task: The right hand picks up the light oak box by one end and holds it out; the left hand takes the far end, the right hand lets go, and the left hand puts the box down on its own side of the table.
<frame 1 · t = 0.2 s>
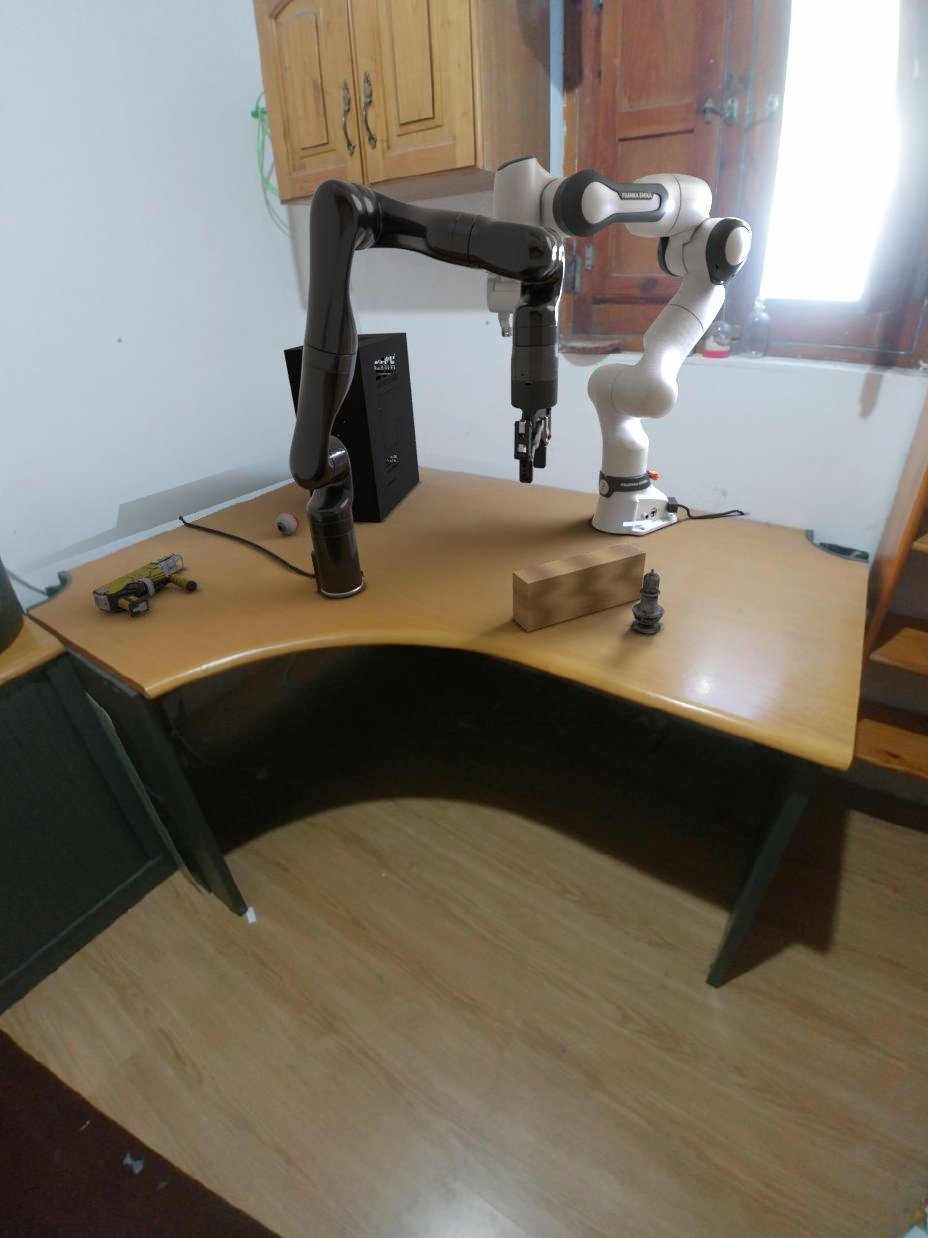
left hand: (533, 474, 104), 29 cm above the table, tool pointing down, fingers open, 8 cm apart
right hand: (517, 338, 125), 47 cm above the table, tool pointing down, fingers open, 8 cm apart
cardboard box: (371, 499, 188), on the table
eyeball: (289, 534, 165), on the table
grey chess piece: (646, 627, 114), on the table
toy gun: (162, 593, 137), on the table
box: (578, 608, 122), on the table
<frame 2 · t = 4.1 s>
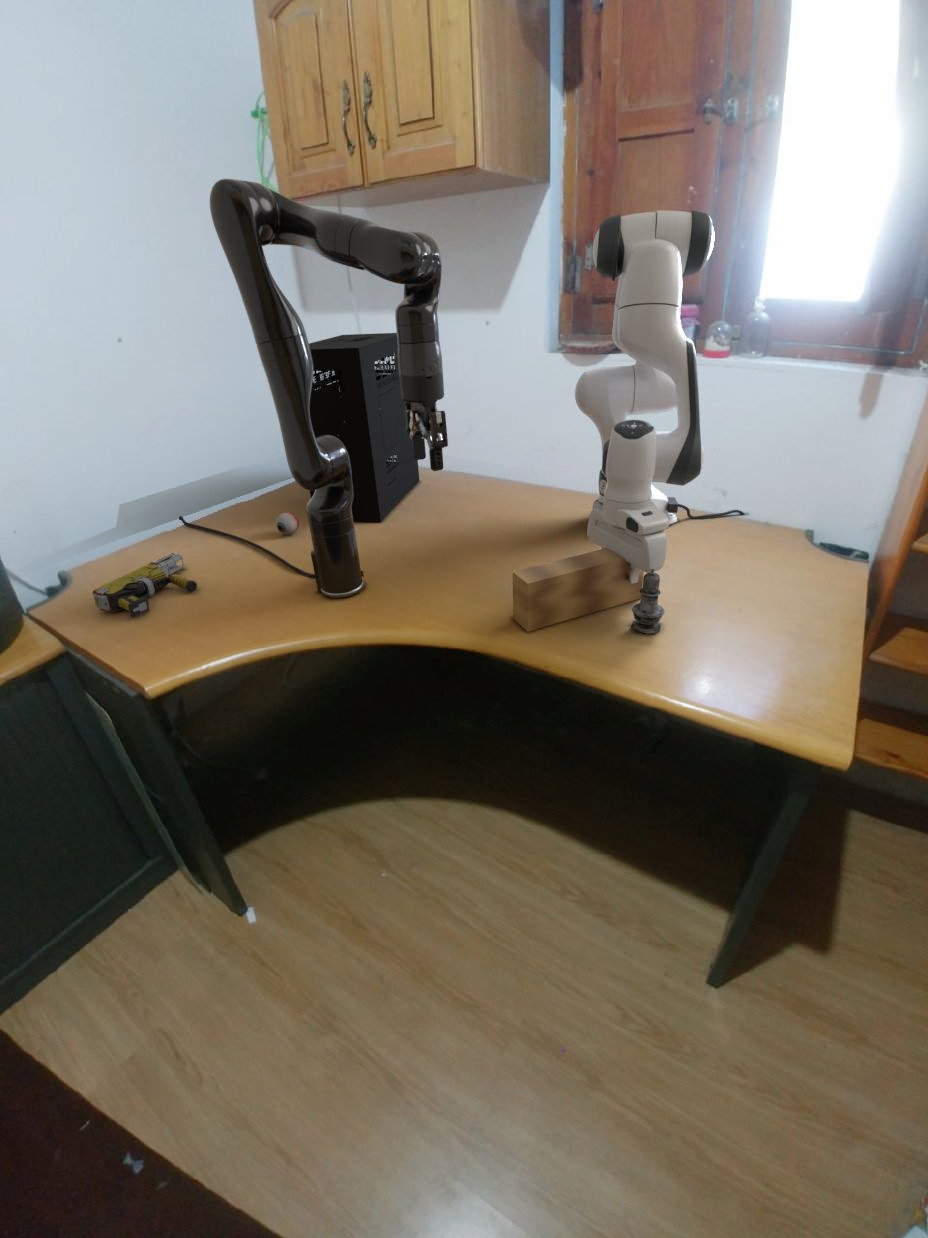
left hand: (428, 464, 111), 30 cm above the table, tool pointing down, fingers open, 8 cm apart
right hand: (620, 575, 123), 5 cm above the table, tool pointing down, fingers closed on box, 6 cm apart
box: (578, 608, 122), on the table, touching right hand
everything else where it was.
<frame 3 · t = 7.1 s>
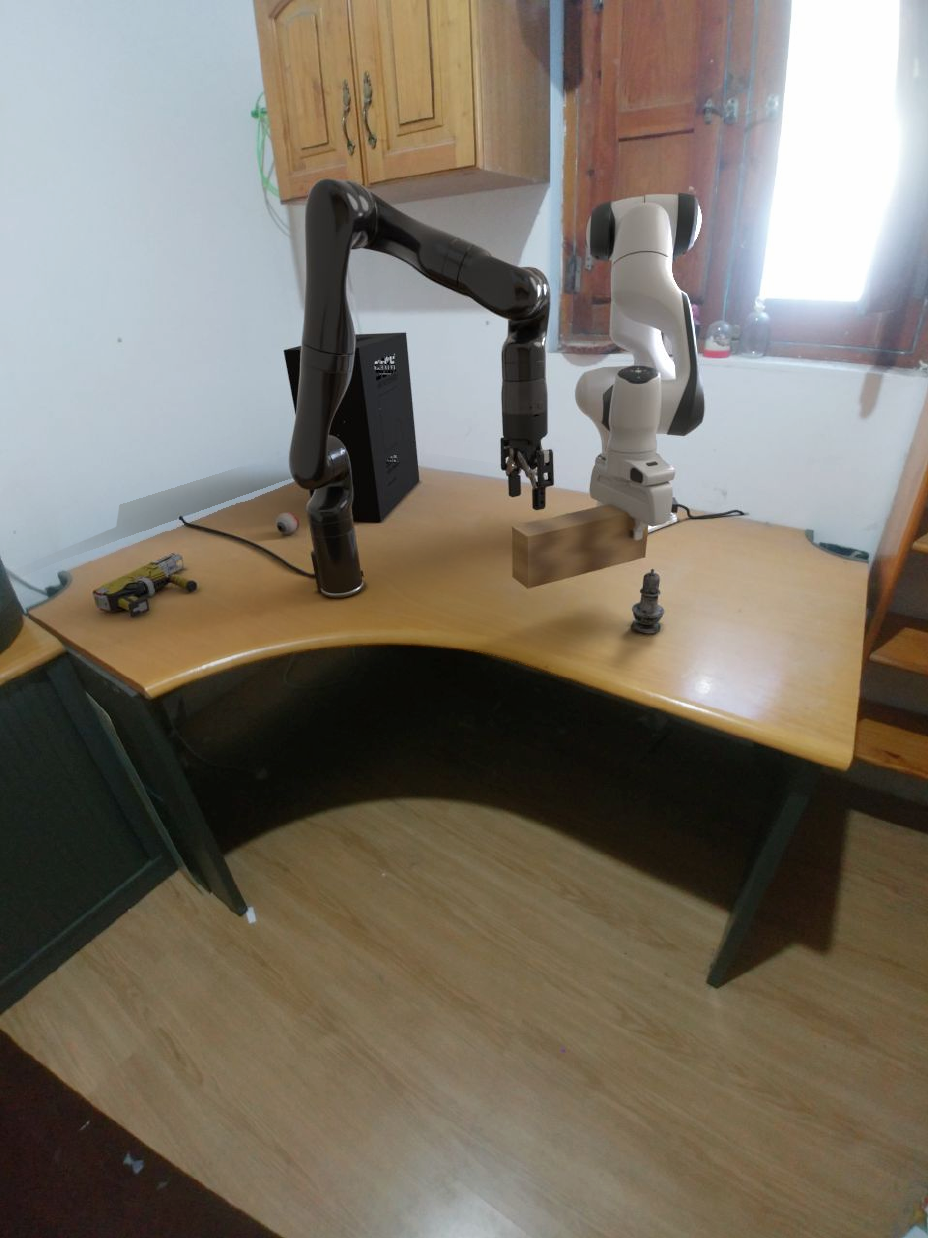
left hand: (526, 502, 107), 24 cm above the table, tool pointing down, fingers open, 8 cm apart
right hand: (624, 532, 118), 14 cm above the table, tool pointing down, fingers closed on box, 6 cm apart
box: (580, 566, 117), point 9 cm above the table, touching right hand
everything else where it was.
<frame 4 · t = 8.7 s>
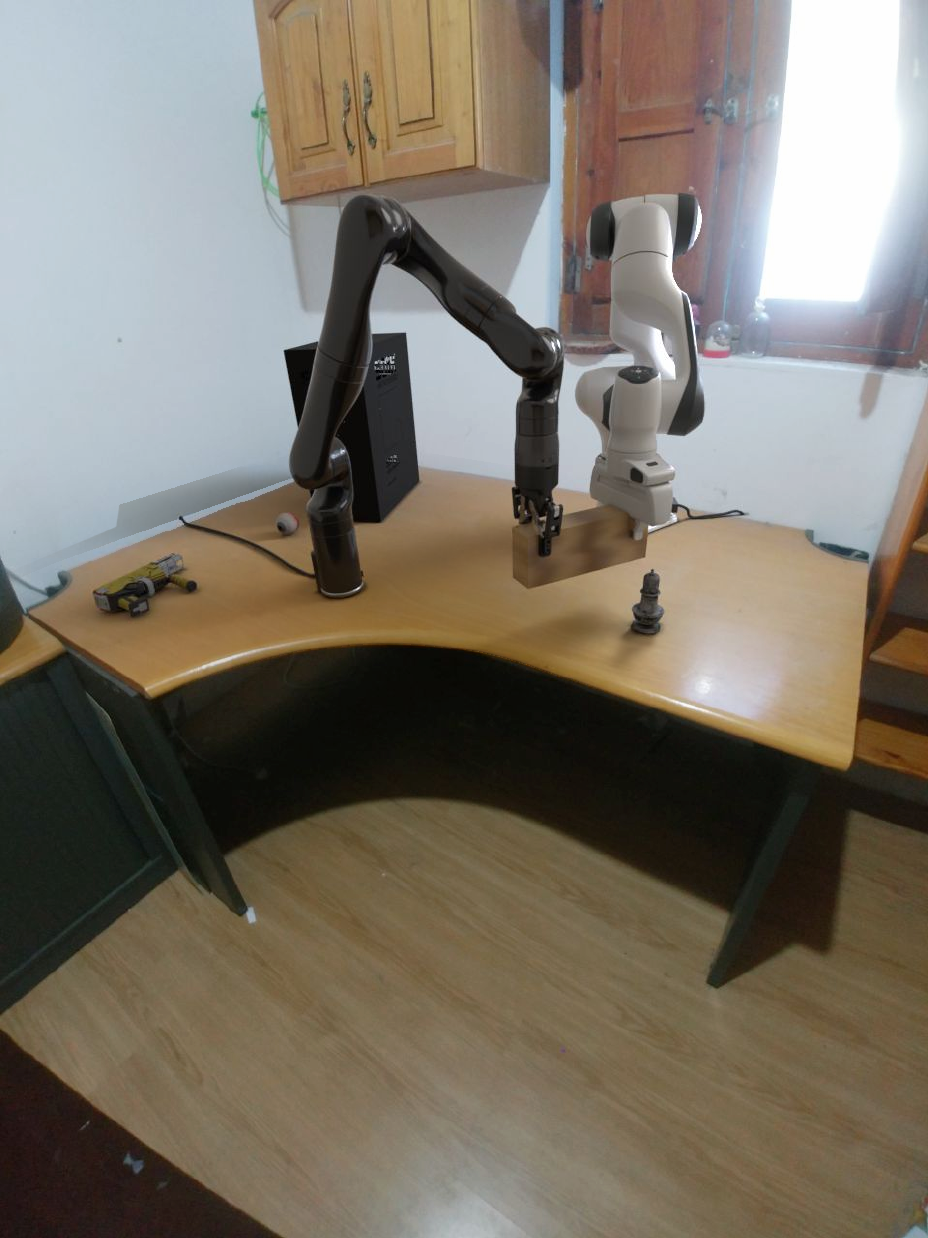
left hand: (535, 549, 111), 15 cm above the table, tool pointing down, fingers closed on box, 6 cm apart
right hand: (624, 532, 118), 14 cm above the table, tool pointing down, fingers closed on box, 6 cm apart
box: (580, 567, 117), point 9 cm above the table, touching right hand, left hand
everything else where it was.
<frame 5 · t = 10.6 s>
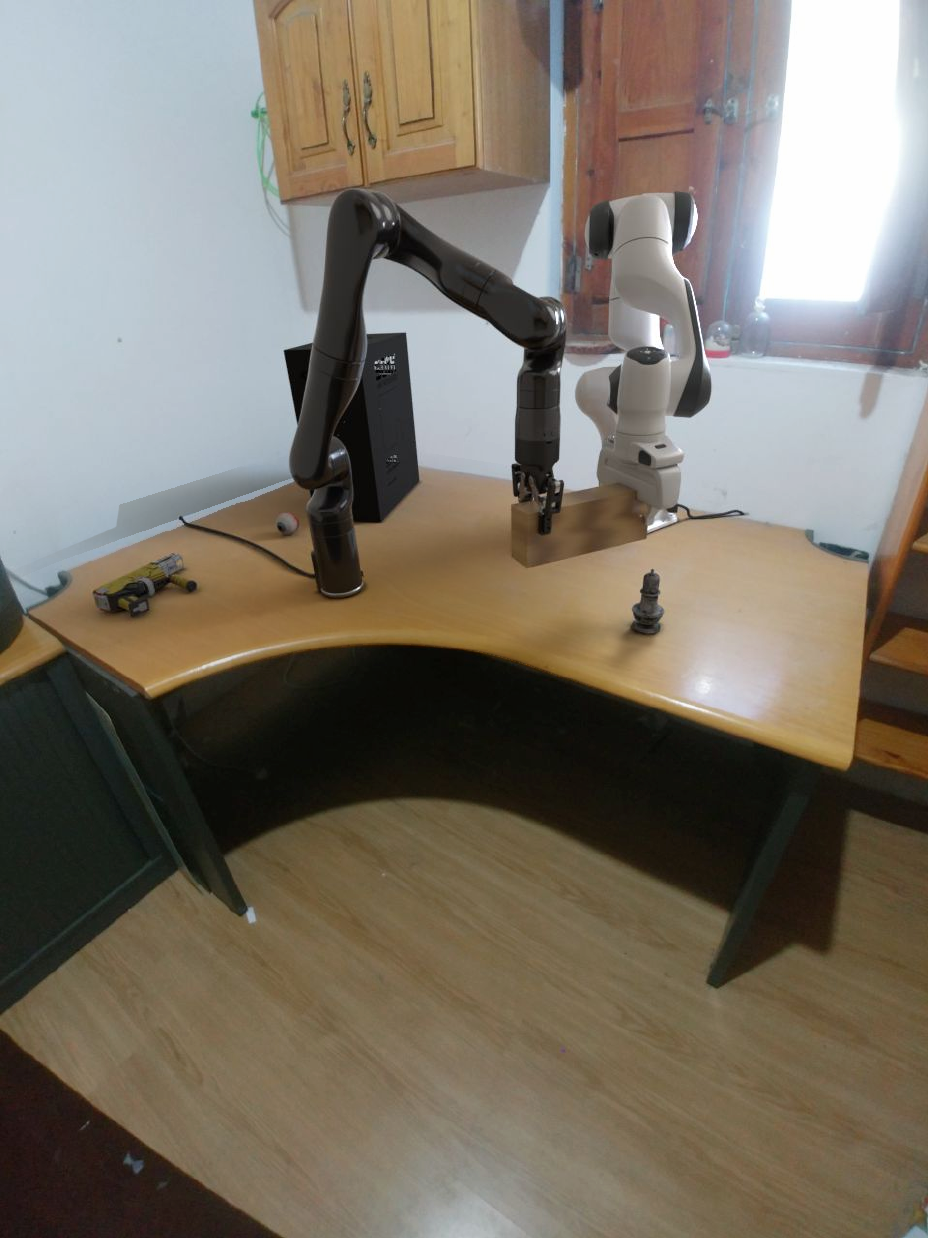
left hand: (535, 527, 109), 19 cm above the table, tool pointing down, fingers closed on box, 6 cm apart
right hand: (631, 516, 117), 17 cm above the table, tool pointing down, fingers open, 8 cm apart
box: (580, 547, 115), point 13 cm above the table, touching left hand
everything else where it was.
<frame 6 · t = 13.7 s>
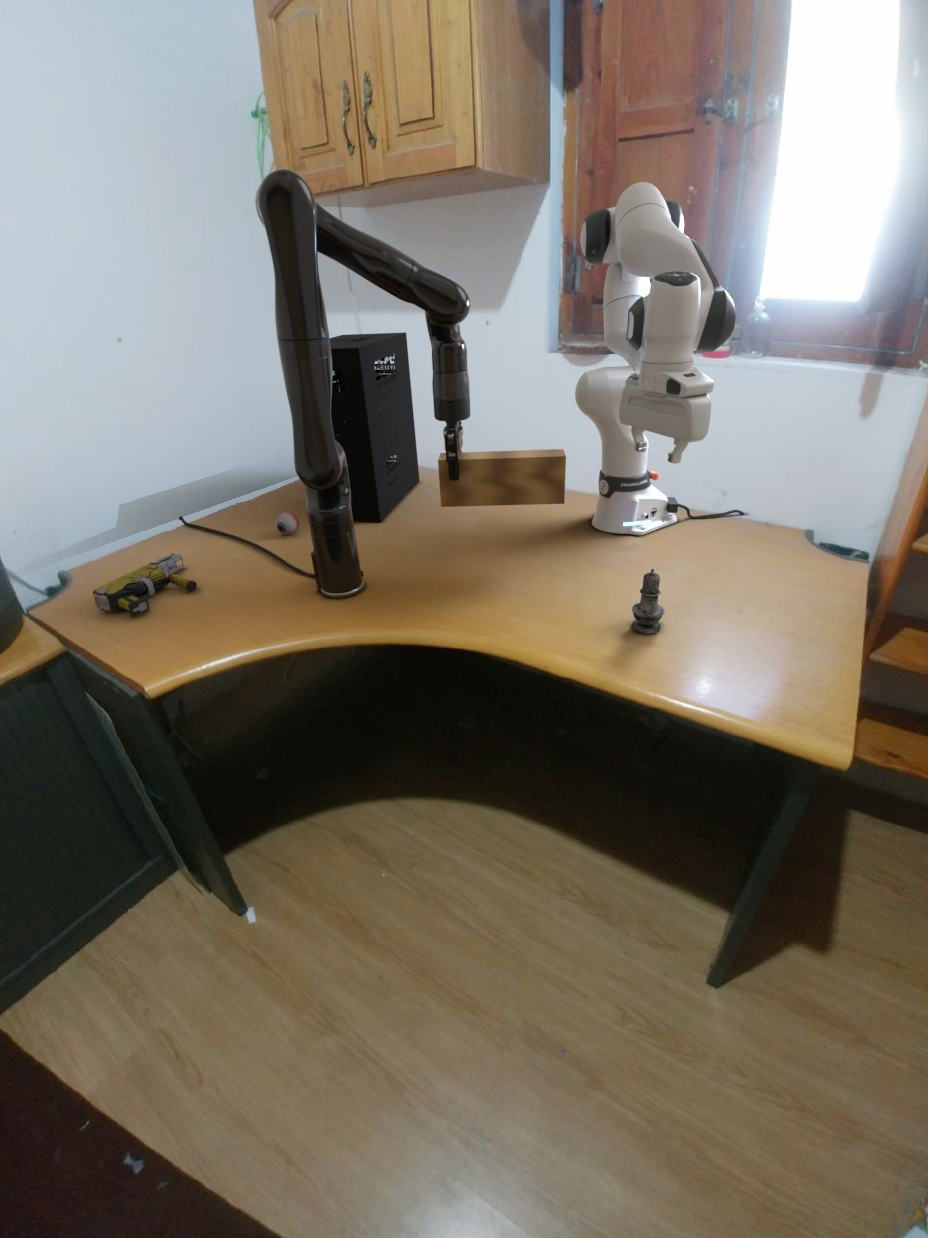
left hand: (455, 475, 131), 22 cm above the table, tool pointing down, fingers closed on box, 6 cm apart
right hand: (656, 456, 113), 28 cm above the table, tool pointing down, fingers open, 8 cm apart
box: (502, 500, 134), point 15 cm above the table, touching left hand
everything else where it was.
when the left hand's fingers open (8 cm above the table, at t = 18.5 s): box drops 1 cm, on the table.
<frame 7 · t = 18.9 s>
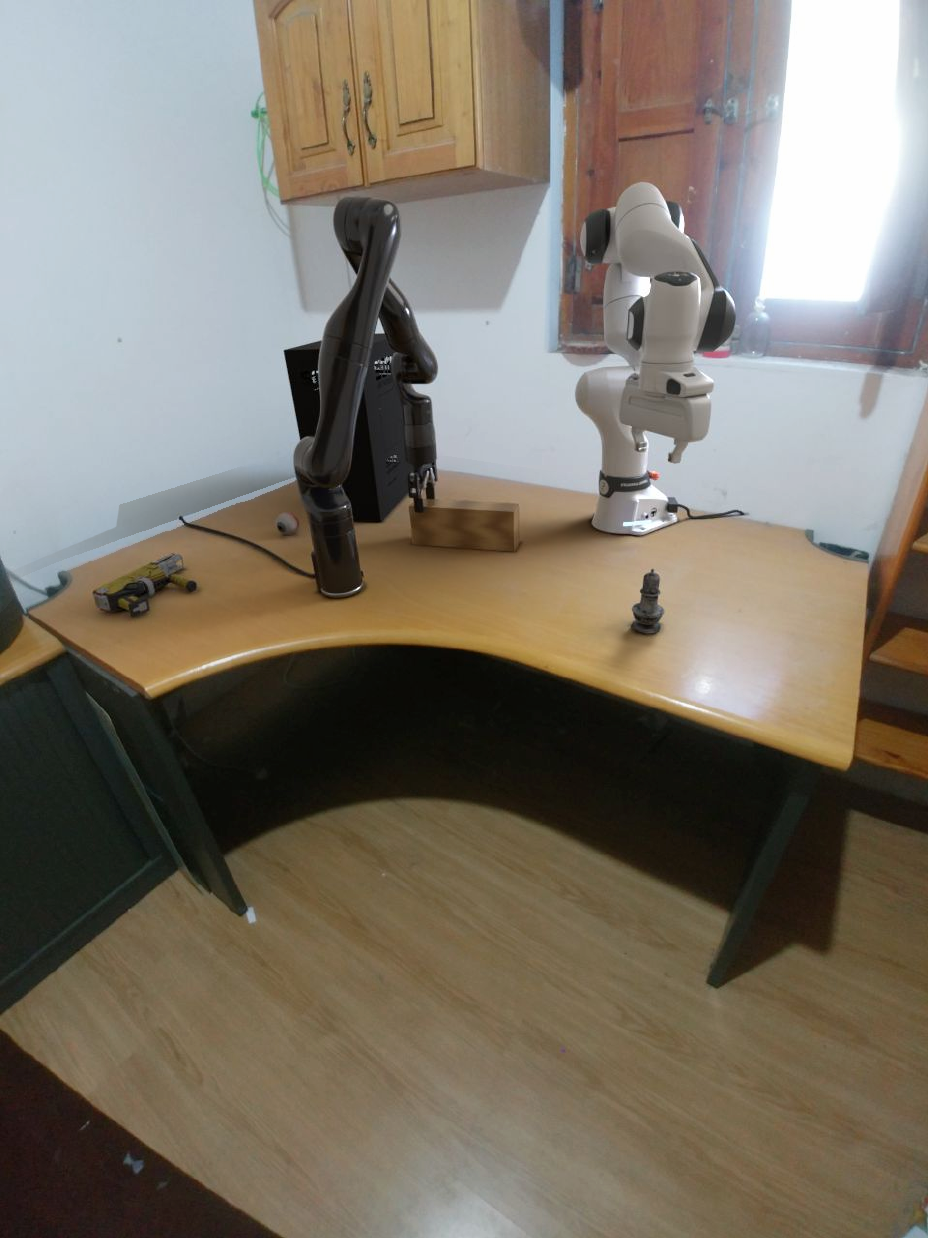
left hand: (425, 506, 152), 9 cm above the table, tool pointing down, fingers open, 8 cm apart
right hand: (656, 456, 113), 28 cm above the table, tool pointing down, fingers open, 8 cm apart
box: (465, 543, 154), on the table
everything else where it was.
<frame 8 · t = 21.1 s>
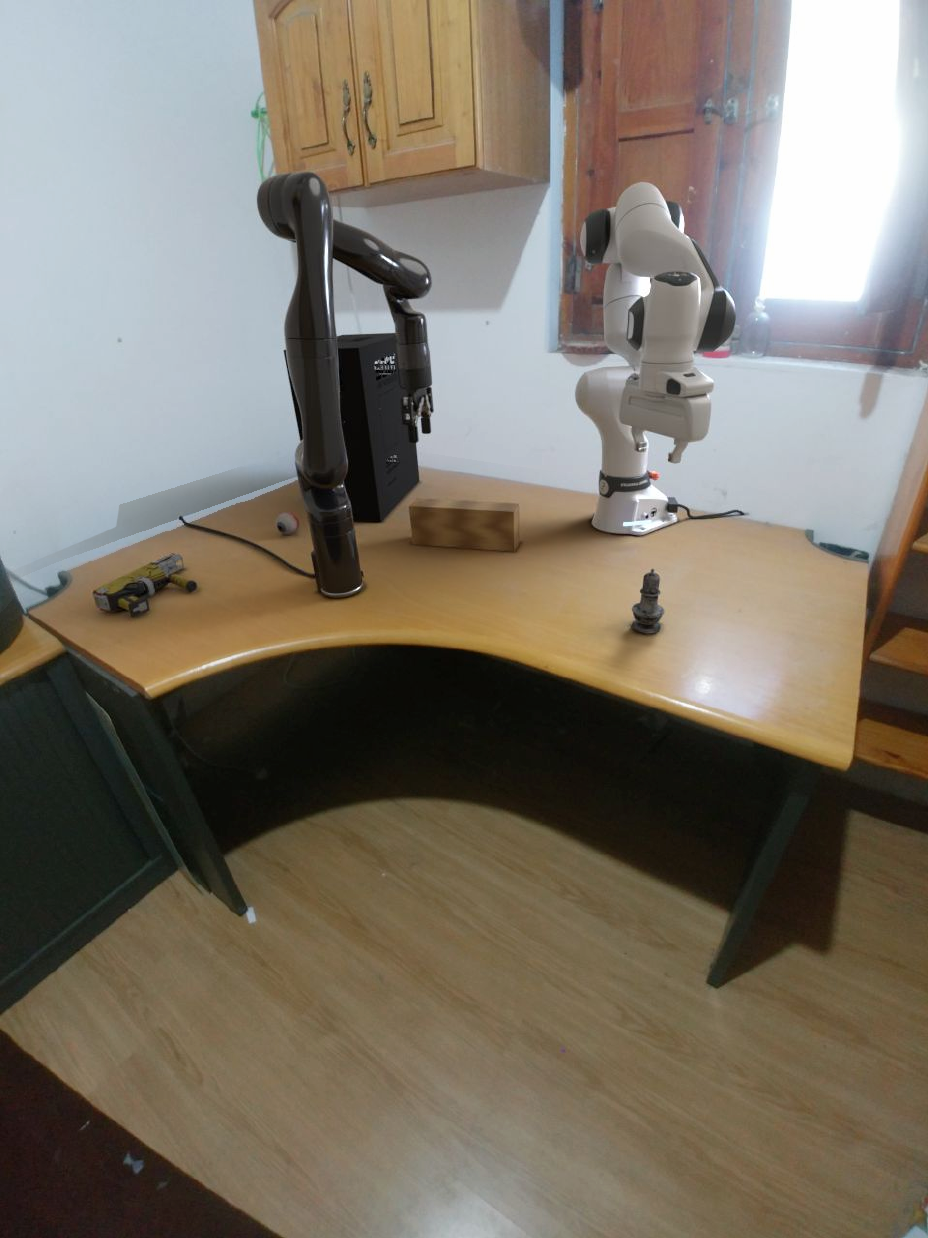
left hand: (420, 437, 143), 26 cm above the table, tool pointing down, fingers open, 8 cm apart
right hand: (656, 456, 113), 28 cm above the table, tool pointing down, fingers open, 8 cm apart
nothing on the table moved.
at the end: box inside the target area (9.8 cm from its centre), on the table; the left hand is holding nothing; the right hand is holding nothing; box at rest at the end (0.0 cm/s) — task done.
